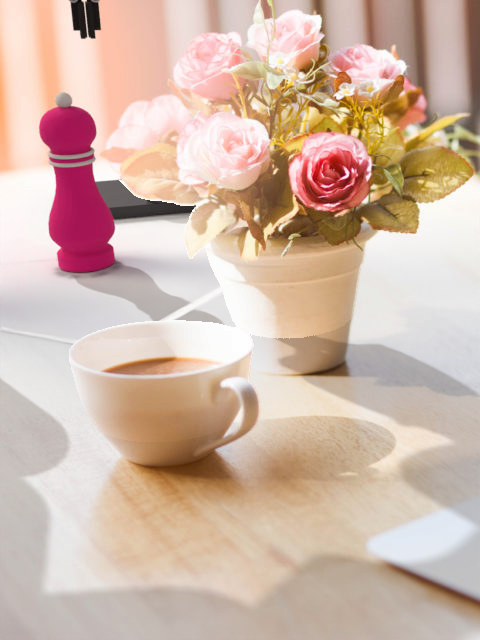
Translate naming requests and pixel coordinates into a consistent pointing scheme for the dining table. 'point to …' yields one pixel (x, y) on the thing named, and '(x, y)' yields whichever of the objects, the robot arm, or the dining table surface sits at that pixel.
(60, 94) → the pepper mill
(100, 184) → the scale
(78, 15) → the robot arm
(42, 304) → the dining table surface
